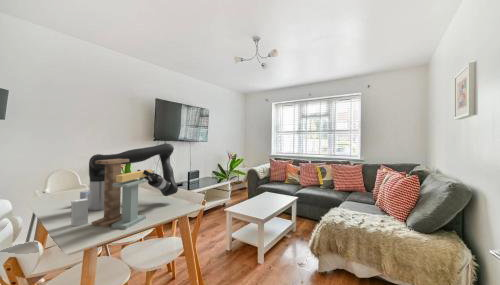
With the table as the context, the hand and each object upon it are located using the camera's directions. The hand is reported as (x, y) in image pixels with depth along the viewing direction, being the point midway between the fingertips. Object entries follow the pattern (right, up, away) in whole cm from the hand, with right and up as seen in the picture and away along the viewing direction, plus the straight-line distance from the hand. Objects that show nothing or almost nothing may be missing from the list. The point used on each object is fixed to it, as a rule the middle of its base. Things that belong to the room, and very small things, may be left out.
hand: (141, 171), depth 112 cm
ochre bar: (-1, -3, -4) cm, 5 cm away
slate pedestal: (-2, -25, -7) cm, 26 cm away
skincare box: (-25, -25, -11) cm, 37 cm away
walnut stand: (-12, -25, -6) cm, 28 cm away
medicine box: (-46, -25, +21) cm, 56 cm away
